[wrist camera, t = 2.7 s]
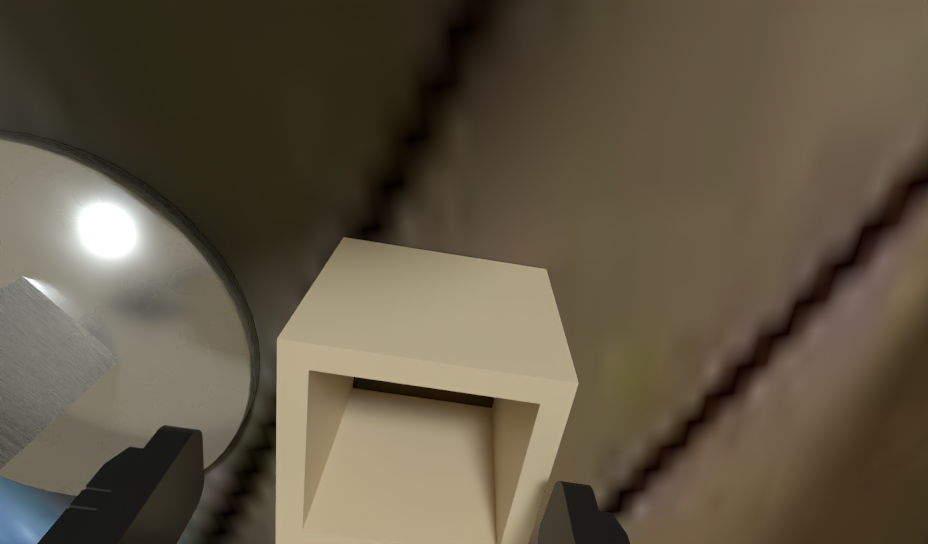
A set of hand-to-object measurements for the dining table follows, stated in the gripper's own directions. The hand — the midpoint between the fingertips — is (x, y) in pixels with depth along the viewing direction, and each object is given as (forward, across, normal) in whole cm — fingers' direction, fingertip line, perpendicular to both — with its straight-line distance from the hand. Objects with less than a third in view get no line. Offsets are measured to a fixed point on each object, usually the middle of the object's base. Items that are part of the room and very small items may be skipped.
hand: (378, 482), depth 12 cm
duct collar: (+7, -1, 0) cm, 7 cm away
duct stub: (+7, +12, +3) cm, 14 cm away
